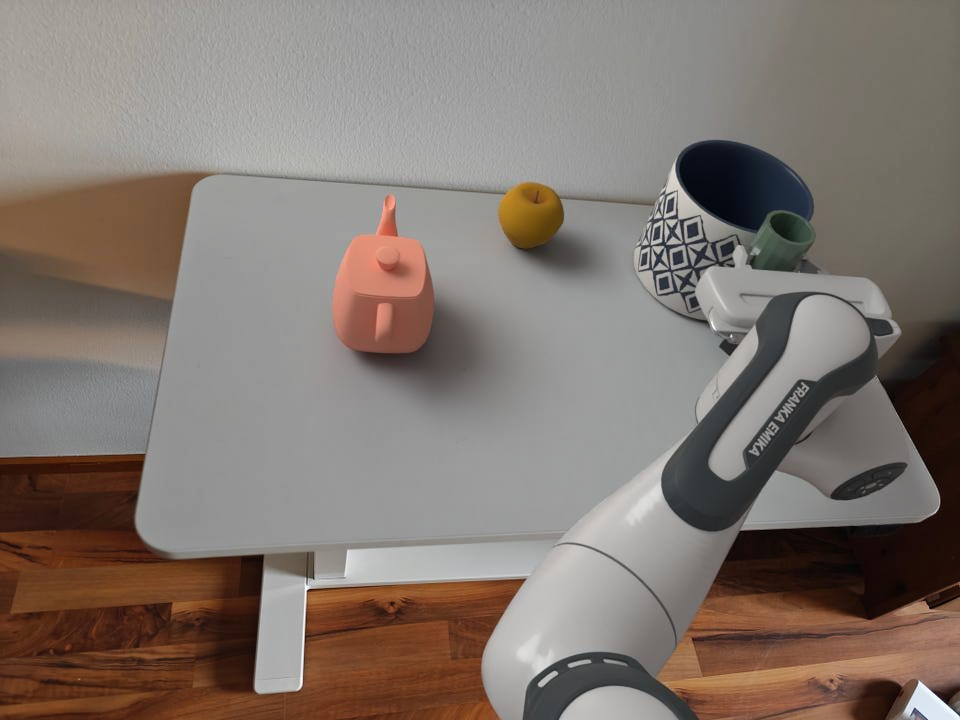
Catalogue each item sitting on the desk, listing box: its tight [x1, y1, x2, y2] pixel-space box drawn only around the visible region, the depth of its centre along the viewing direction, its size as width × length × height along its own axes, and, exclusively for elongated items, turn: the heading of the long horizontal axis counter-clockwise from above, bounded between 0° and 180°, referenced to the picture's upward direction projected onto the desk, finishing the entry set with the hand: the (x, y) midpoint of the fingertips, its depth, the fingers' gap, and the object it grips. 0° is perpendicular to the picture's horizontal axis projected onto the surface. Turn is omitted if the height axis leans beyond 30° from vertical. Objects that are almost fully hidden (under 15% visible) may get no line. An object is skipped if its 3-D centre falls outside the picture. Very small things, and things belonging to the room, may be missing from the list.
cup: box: [749, 210, 817, 272], centre depth 83 cm, size 6×6×10 cm
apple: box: [497, 181, 565, 250], centre depth 99 cm, size 9×9×9 cm
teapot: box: [331, 193, 435, 354], centre depth 85 cm, size 20×12×12 cm, turn 3°
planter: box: [632, 139, 815, 322], centre depth 97 cm, size 18×18×16 cm
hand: (769, 251), depth 83 cm, fingers closed on cup, 6 cm apart
